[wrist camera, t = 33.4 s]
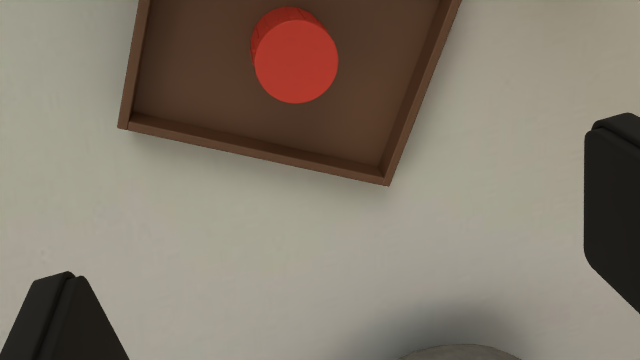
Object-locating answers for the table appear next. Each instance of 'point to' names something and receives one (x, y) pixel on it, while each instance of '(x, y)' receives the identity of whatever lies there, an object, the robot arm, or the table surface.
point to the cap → (293, 55)
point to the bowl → (460, 353)
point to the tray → (270, 113)
